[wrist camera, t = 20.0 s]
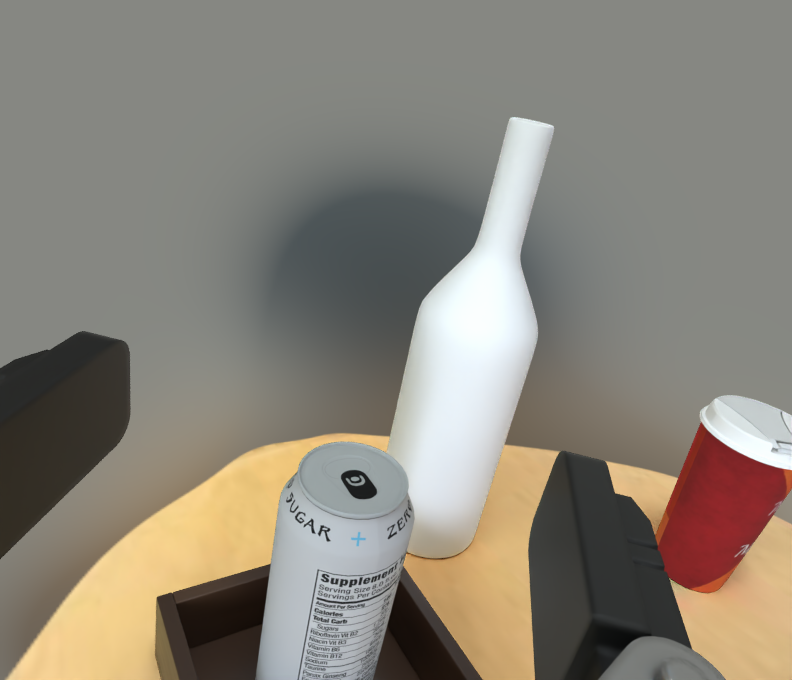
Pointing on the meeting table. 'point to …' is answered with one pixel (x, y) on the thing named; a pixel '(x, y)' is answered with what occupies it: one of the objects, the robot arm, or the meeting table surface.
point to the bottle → (470, 360)
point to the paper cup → (725, 491)
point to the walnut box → (242, 626)
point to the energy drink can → (335, 564)
